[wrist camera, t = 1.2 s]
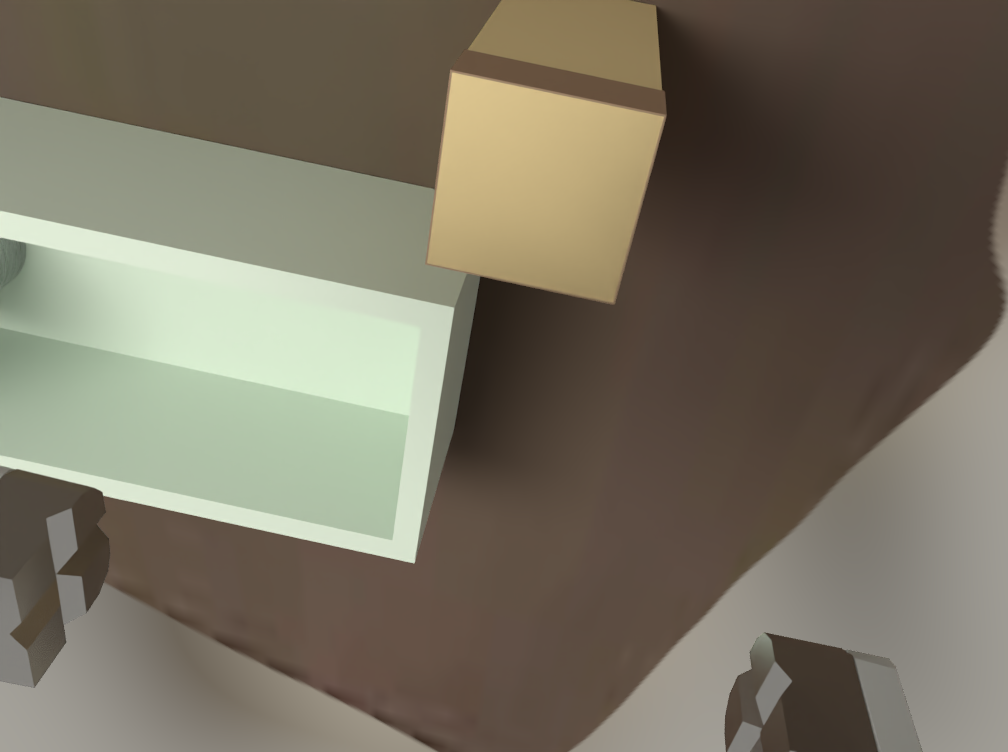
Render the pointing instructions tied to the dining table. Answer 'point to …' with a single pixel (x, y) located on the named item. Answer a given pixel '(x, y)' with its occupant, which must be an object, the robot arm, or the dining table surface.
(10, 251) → the tin can
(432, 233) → the oat carton
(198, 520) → the dining table surface
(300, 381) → the tote
